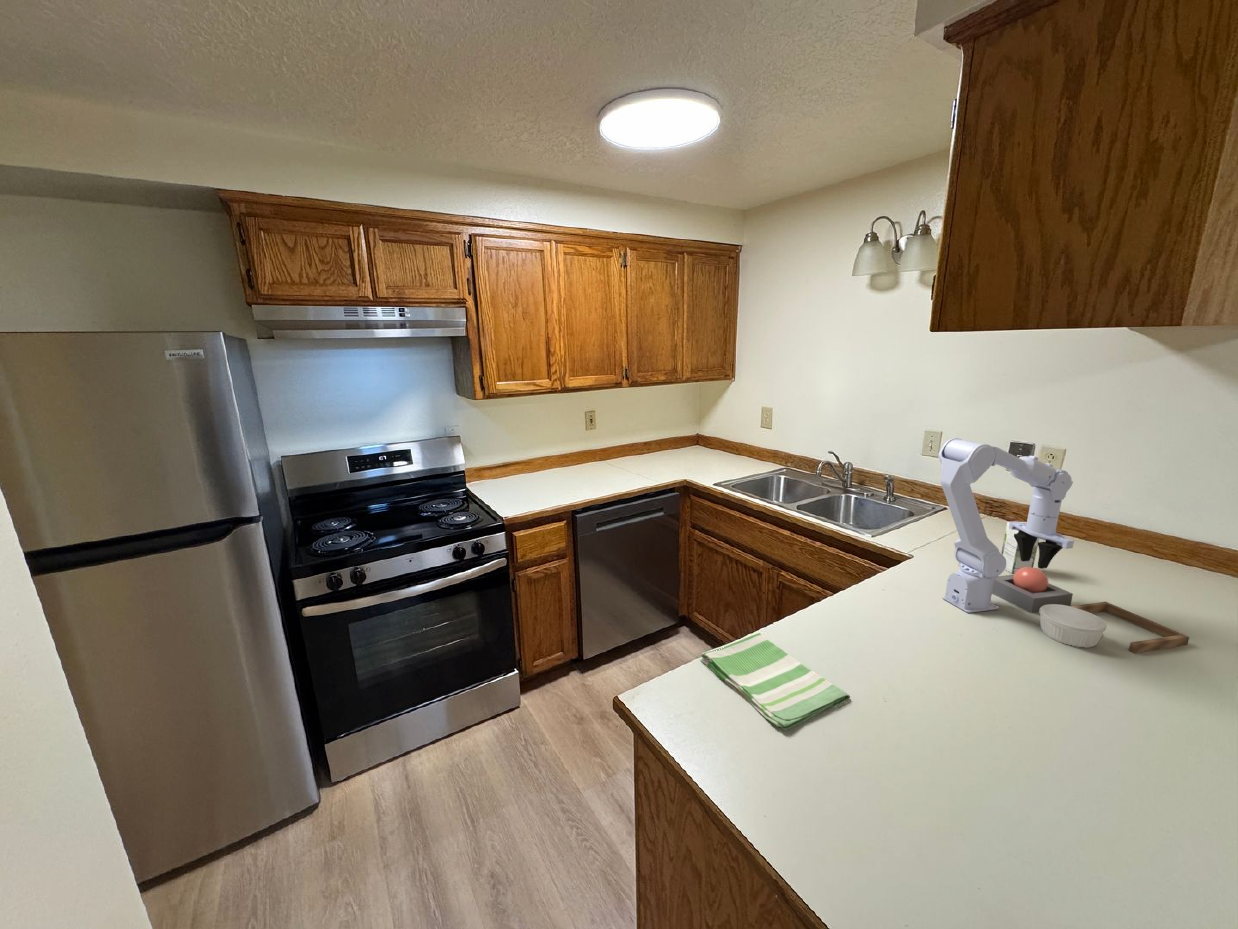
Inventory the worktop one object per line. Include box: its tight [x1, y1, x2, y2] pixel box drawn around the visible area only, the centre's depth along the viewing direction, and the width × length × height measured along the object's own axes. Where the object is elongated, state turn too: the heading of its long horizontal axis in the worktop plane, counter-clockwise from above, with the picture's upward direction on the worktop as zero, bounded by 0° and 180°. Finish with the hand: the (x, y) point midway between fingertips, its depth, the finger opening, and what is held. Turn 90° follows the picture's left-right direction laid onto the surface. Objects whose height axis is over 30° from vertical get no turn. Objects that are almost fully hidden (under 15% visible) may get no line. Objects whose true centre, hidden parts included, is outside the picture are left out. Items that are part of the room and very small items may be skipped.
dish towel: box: [700, 631, 851, 731], centre depth 97 cm, size 18×23×3 cm
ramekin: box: [1038, 604, 1107, 649], centre depth 110 cm, size 11×11×5 cm
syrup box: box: [1000, 521, 1040, 575], centre depth 143 cm, size 6×6×14 cm
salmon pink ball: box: [1013, 566, 1049, 593], centre depth 126 cm, size 7×7×7 cm
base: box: [992, 574, 1074, 614], centre depth 127 cm, size 12×12×4 cm
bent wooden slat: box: [1070, 601, 1190, 654], centre depth 113 cm, size 15×16×2 cm
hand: (1033, 564), depth 125 cm, fingers open, 4 cm apart
